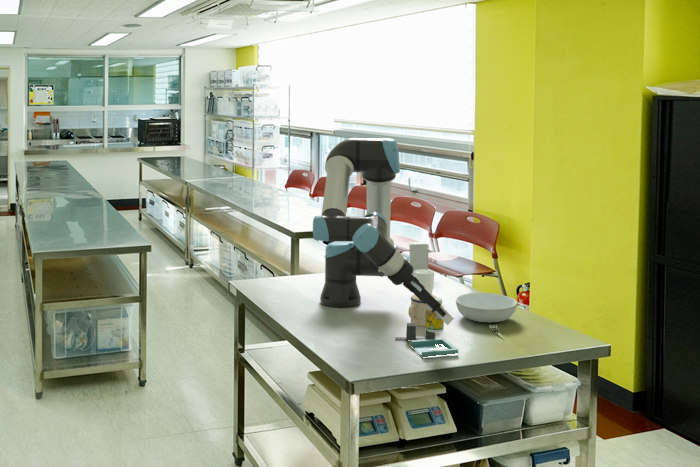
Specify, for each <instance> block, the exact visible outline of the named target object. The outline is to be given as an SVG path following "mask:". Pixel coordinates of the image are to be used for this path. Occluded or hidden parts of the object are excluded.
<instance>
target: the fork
mask: <svg viewBox="0 0 700 467" xmlns="http://www.w3.org/2000/svg"><path fill="white" fill-rule="evenodd" d="M488 327H489V329H490V328H491V329H492V328H496V329H497V328H498V325H497V324H489V326H488ZM498 329H499V328H498Z"/></svg>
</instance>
